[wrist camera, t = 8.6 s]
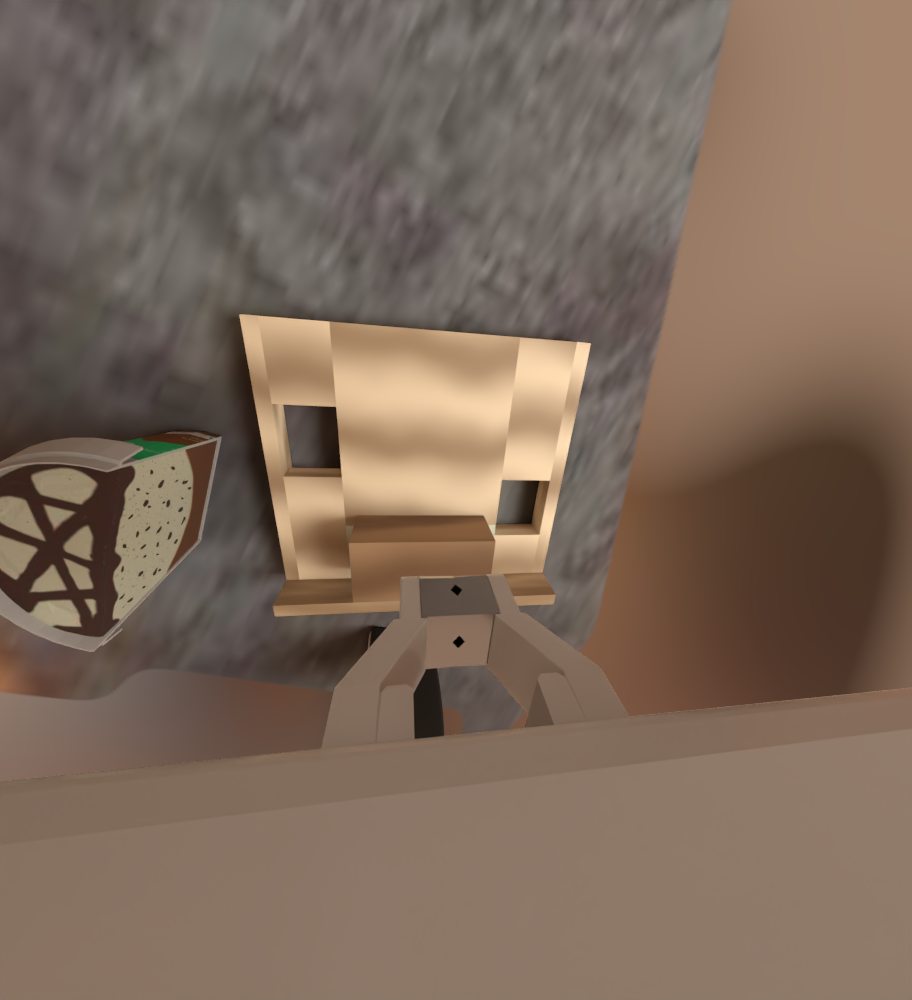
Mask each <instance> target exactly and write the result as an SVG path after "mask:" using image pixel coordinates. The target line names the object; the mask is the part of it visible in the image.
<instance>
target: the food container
mask: <svg viewBox="0 0 912 1000" xmlns="http://www.w3.org/2000/svg"><path fill="white" fill-rule="evenodd" d="M221 438H222V436H219V435H216V434H212V433H209V432H205V431H185V430H178V431H173V432H168V433H163V434H158V435H153V436H148V437H143V438H137V439H132V440H127V441H116V440H108V439H101V438H65V439H57V440H50V441H46V442H43V443H40V444H36V445H33V446H30V447H28V448H26V449H24V450H22V451H20V452H18V453H16V454H14V455H12V456H11V457H9V458H7V459H5V460H3V461H1V462H0V615H2V616H3V617H5V618H7V619H8V620H10V621H11V622H13V623H14V624H16V625H18V626H20V627H22V628H24V629H26V630H27V631H29V632H31V633H33V634H35V635H38V636H40V637H43V638H45V639H48V640H50V641H53V642H55V643H59V644H62V645H65V646H69V647H72V648H76V649H81V650H85V651H90V652H94V651H95V650H96V649H97V648H98V647H99V646H100V645H101V646H103V645H104V644H106V643H107V642H108V641H109V640H110V639H112V638H113V637H114V636H115V635H117V634H118V633H119V632H120V631H121V630H122V628H120V627H119V626H120V625H121V624H122V623H123V621H124V620H125V619H126V618H127V617H128V616H129V615H130V614H131V613H132V612H133V611H134V610H135V609H136V608H137V607H138V606H139V605H140V604H141V603H142V602H143V601H144V600H145V599H146V598H147V597H148V596H149V594H150V593H151V592H152V591H153V590H154V589H155V588H156V587H157V586H158V585H159V584H160V583H161V582H162V581H163V580H164V579H165V578H166V577H167V576H168V575H169V574H170V573H171V572H172V571H173V570H174V569H175V567H176V566H177V565H178V564H179V563H180V562H181V561H182V560H183V559H184V558H185V557H186V556H187V555H188V554H189V553H190V552H191V551H192V550H193V549H194V548H195V547H196V546H197V545H198V544H199V543H200V542H201V538H202V533H203V528H204V523H205V518H206V513H207V508H208V503H209V498H210V493H211V488H212V483H213V478H214V473H215V468H216V463H217V458H218V453H219V448H220V443H221Z"/></svg>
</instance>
